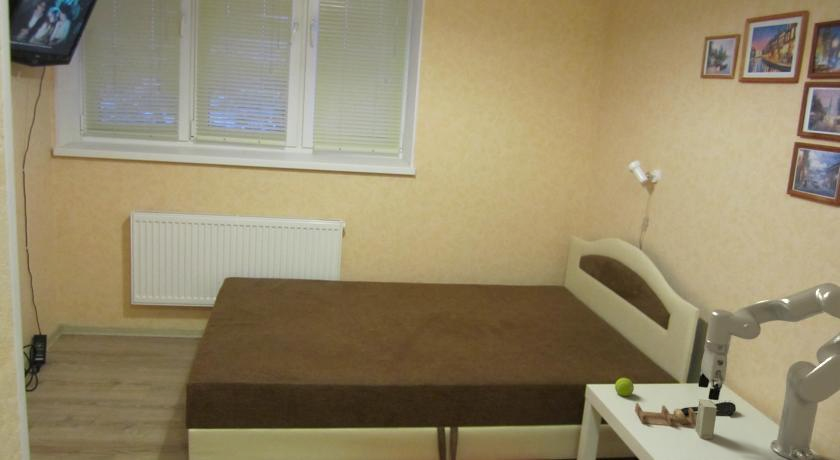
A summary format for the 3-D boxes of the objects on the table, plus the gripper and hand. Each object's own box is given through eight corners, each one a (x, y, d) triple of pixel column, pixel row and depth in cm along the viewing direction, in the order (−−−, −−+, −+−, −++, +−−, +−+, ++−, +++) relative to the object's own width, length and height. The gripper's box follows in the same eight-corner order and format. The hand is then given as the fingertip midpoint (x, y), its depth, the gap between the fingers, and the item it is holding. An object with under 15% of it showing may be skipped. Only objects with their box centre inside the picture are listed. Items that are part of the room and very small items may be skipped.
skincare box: (712, 441, 224) (718, 408, 222) (699, 439, 225) (704, 406, 222) (707, 432, 230) (712, 400, 228) (693, 430, 231) (698, 398, 228)
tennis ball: (613, 390, 260) (615, 373, 259) (632, 393, 258) (634, 376, 257) (614, 397, 254) (616, 380, 252) (632, 400, 252) (635, 383, 251)
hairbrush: (670, 403, 245) (726, 396, 252) (669, 412, 245) (724, 405, 252) (685, 413, 237) (742, 406, 244) (684, 422, 238) (740, 415, 245)
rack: (699, 430, 231) (700, 420, 231) (641, 425, 232) (643, 415, 232) (689, 417, 241) (691, 407, 240) (634, 412, 242) (635, 403, 242)
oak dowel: (688, 425, 233) (688, 417, 232) (679, 425, 233) (679, 417, 233) (681, 416, 240) (682, 408, 239) (673, 416, 240) (673, 408, 239)
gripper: (738, 357, 212) (728, 405, 216) (718, 338, 229) (710, 383, 233) (714, 354, 213) (705, 403, 216) (696, 336, 230) (688, 381, 233)
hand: (708, 393), depth 225 cm, fingers open, 9 cm apart
